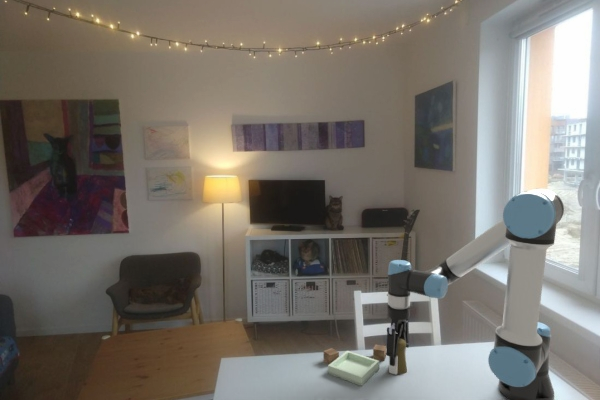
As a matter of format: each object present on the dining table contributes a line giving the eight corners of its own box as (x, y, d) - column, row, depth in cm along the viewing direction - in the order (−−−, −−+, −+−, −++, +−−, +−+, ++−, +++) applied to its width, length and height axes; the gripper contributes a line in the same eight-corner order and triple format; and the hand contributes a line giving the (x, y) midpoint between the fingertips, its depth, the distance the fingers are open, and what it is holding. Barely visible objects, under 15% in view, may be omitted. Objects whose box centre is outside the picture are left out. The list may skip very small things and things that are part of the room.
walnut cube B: (338, 362, 147) (338, 352, 146) (330, 365, 145) (330, 355, 144) (332, 358, 150) (332, 348, 150) (323, 361, 148) (323, 350, 148)
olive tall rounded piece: (407, 375, 138) (408, 344, 137) (389, 373, 139) (389, 342, 138) (406, 366, 144) (406, 336, 143) (389, 364, 145) (389, 335, 144)
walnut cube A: (386, 356, 151) (386, 346, 151) (384, 361, 147) (384, 350, 147) (375, 354, 153) (375, 344, 152) (373, 359, 149) (373, 349, 148)
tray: (379, 369, 142) (379, 360, 142) (361, 386, 132) (361, 377, 131) (347, 358, 150) (347, 350, 149) (328, 373, 139) (328, 365, 139)
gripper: (399, 295, 149) (398, 354, 151) (376, 311, 133) (375, 377, 136) (419, 299, 144) (418, 360, 147) (397, 317, 129) (396, 385, 132)
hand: (397, 368), depth 142 cm, fingers open, 6 cm apart
